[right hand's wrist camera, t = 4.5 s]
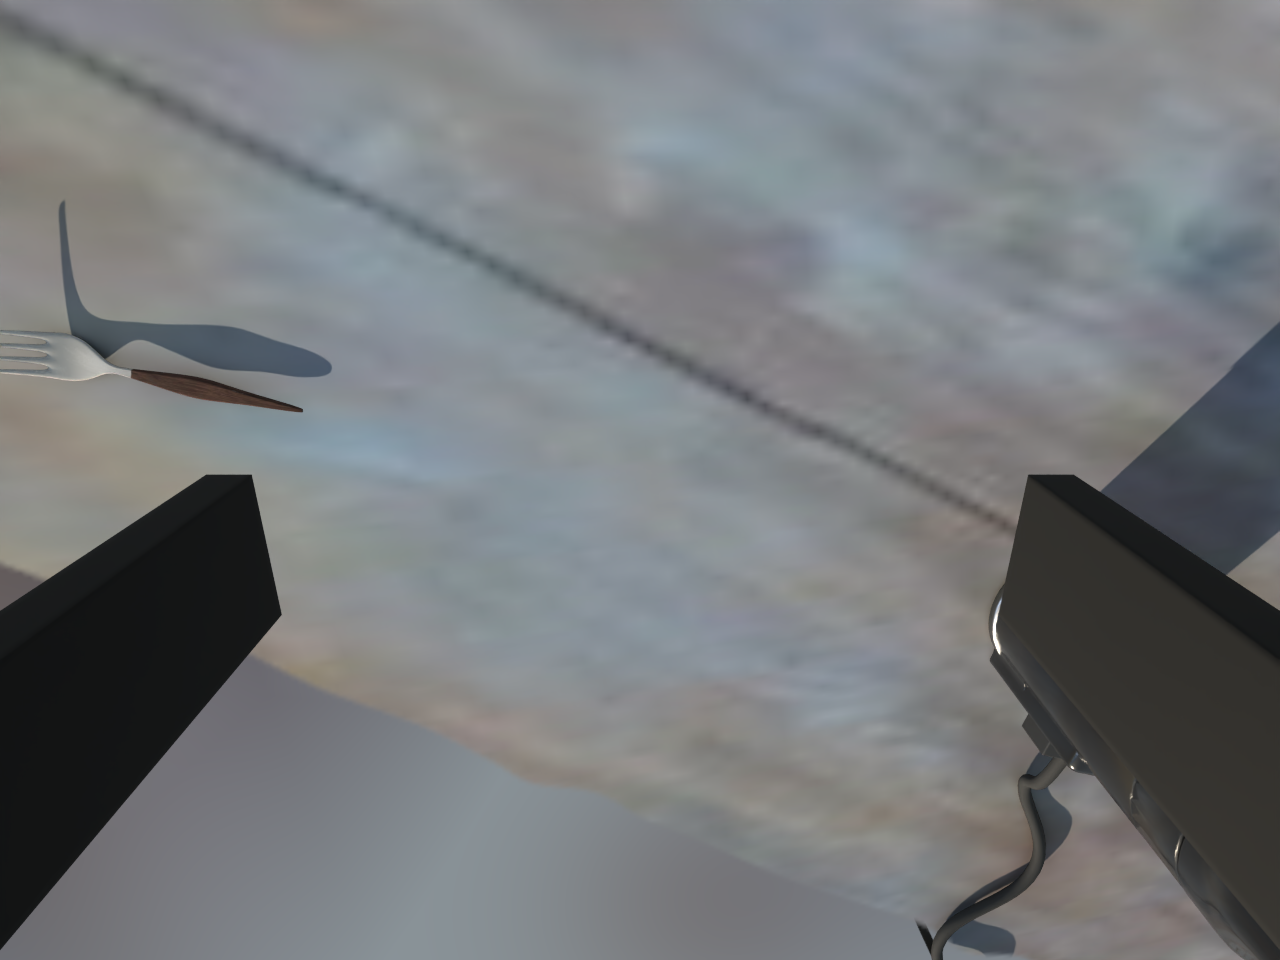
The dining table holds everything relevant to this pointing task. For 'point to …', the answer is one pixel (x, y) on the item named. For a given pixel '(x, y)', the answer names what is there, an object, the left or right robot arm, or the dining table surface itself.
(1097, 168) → the dining table surface
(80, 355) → the fork
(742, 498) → the dining table surface
